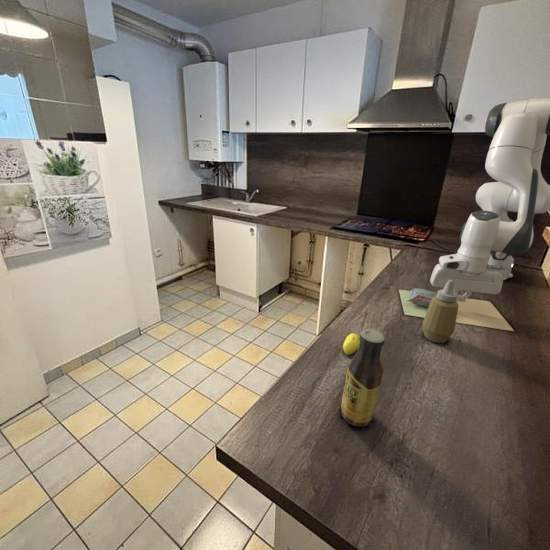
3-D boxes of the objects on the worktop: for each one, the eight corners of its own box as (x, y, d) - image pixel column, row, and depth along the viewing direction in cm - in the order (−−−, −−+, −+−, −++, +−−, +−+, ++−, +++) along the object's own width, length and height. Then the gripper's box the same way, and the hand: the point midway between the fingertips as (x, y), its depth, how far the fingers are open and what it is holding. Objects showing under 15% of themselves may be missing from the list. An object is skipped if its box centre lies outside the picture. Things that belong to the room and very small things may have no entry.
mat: (398, 289, 113) (398, 289, 113) (489, 301, 105) (489, 301, 105) (404, 314, 95) (404, 314, 95) (514, 331, 88) (514, 331, 88)
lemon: (338, 353, 76) (339, 341, 75) (349, 339, 82) (350, 327, 81) (353, 360, 74) (355, 347, 73) (363, 344, 80) (365, 332, 79)
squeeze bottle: (447, 332, 86) (464, 277, 79) (453, 348, 79) (472, 289, 72) (418, 327, 89) (431, 273, 82) (421, 342, 82) (436, 284, 75)
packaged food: (442, 314, 96) (446, 301, 94) (404, 305, 101) (407, 292, 99) (443, 304, 103) (447, 291, 101) (407, 295, 108) (410, 283, 106)
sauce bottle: (336, 404, 61) (347, 323, 53) (365, 402, 61) (380, 322, 54) (346, 431, 55) (360, 345, 47) (377, 429, 55) (397, 344, 48)
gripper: (504, 263, 93) (491, 301, 99) (434, 256, 99) (425, 292, 104) (512, 270, 88) (498, 310, 93) (438, 262, 93) (428, 300, 99)
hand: (459, 300), depth 99 cm, fingers closed
